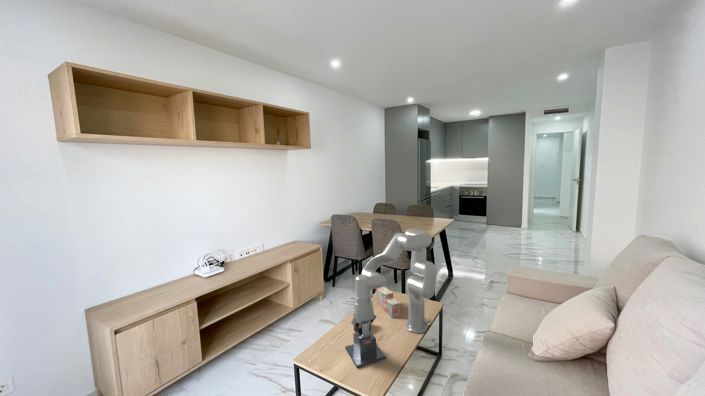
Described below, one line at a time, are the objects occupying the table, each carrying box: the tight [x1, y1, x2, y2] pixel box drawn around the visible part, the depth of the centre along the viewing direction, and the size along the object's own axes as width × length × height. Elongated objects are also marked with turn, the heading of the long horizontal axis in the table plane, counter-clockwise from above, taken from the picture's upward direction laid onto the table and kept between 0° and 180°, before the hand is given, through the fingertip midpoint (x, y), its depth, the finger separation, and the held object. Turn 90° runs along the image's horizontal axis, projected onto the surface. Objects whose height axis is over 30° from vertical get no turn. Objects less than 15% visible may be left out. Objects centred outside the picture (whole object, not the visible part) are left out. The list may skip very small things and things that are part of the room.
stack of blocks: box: [376, 285, 401, 319], centre depth 193 cm, size 21×6×12 cm, turn 22°
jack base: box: [345, 331, 387, 369], centre depth 149 cm, size 16×16×10 cm
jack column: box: [359, 321, 371, 340], centre depth 148 cm, size 4×4×16 cm
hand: (364, 332), depth 148 cm, fingers closed on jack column, 4 cm apart
